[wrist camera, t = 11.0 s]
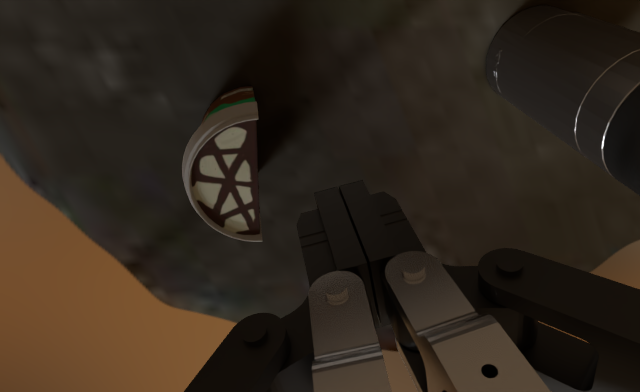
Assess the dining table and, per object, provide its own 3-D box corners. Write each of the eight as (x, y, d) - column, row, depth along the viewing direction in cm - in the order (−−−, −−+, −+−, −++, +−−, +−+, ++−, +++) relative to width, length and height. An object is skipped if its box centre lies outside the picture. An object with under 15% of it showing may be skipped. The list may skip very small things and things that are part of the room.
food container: (181, 70, 42) (170, 114, 33) (251, 69, 43) (258, 111, 34) (195, 190, 48) (189, 251, 40) (256, 187, 49) (262, 246, 41)
